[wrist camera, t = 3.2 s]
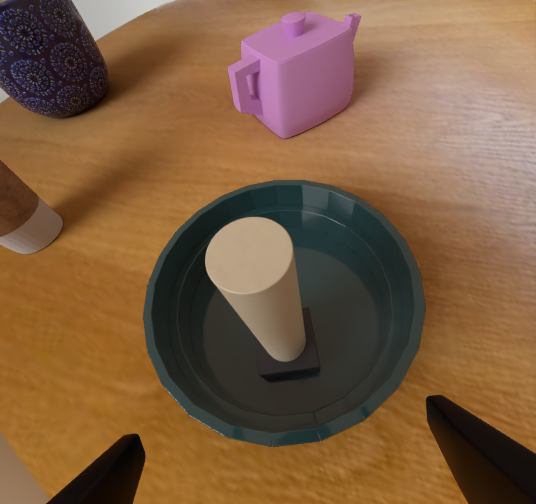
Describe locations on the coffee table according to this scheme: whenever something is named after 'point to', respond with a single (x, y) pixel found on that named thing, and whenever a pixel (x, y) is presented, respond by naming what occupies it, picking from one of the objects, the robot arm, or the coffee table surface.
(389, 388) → the basin
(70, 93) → the planter
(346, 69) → the teapot
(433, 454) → the coffee table surface
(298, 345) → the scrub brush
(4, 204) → the coffee cup
